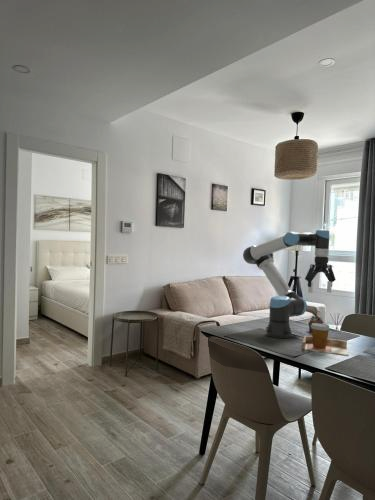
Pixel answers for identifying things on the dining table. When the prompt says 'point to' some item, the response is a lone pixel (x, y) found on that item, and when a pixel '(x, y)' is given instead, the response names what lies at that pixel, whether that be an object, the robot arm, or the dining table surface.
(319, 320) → the cupcake
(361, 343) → the dining table surface
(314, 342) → the cup of beer
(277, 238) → the robot arm
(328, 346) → the brown beige flat box
